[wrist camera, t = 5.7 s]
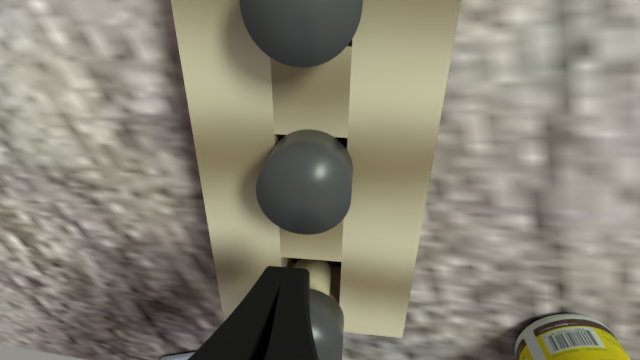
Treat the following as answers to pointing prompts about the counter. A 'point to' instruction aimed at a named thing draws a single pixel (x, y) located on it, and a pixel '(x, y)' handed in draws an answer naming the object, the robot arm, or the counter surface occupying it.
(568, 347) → the supplement bottle
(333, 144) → the knob middle
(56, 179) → the counter surface
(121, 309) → the counter surface
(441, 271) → the counter surface
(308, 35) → the knob near
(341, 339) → the knob far
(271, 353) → the robot arm
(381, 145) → the knob mount
